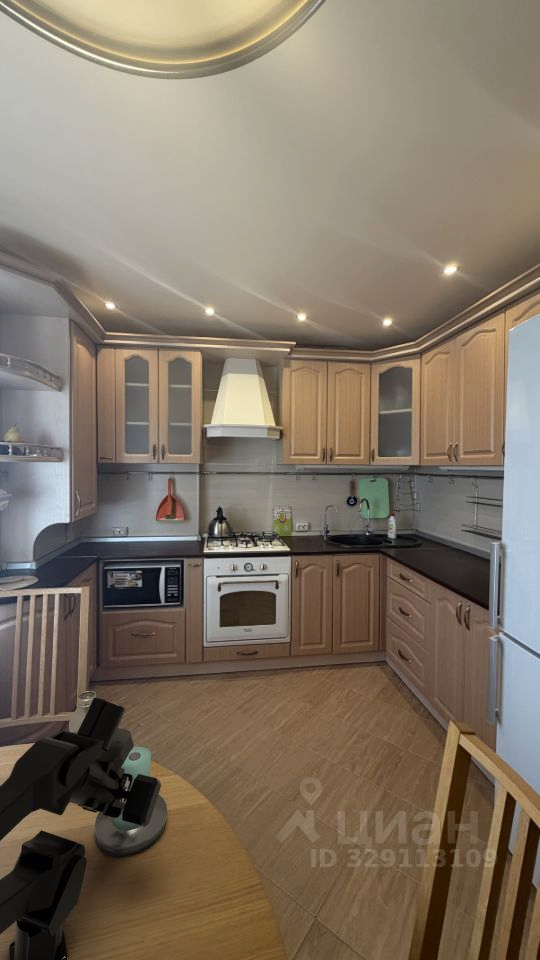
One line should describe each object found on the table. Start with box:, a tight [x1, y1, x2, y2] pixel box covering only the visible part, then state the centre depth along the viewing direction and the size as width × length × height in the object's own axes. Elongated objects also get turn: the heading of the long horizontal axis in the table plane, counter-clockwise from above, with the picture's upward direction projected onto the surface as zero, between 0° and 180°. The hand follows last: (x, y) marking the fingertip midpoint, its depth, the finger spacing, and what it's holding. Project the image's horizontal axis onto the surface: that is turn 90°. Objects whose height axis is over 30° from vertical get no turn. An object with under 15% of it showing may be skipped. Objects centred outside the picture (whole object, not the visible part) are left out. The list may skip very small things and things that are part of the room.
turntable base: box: [95, 826, 165, 858], centre depth 76 cm, size 12×12×1 cm
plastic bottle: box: [68, 690, 97, 734], centre depth 85 cm, size 6×7×20 cm
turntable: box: [94, 793, 168, 851], centre depth 76 cm, size 13×13×1 cm
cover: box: [112, 746, 152, 831], centre depth 76 cm, size 7×7×11 cm
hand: (123, 799), depth 73 cm, fingers closed
